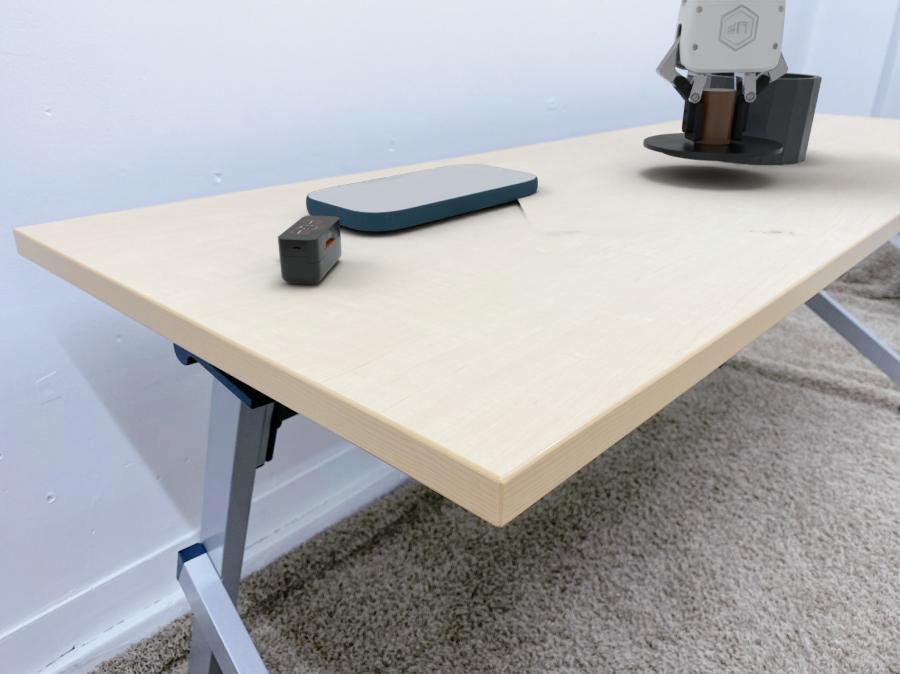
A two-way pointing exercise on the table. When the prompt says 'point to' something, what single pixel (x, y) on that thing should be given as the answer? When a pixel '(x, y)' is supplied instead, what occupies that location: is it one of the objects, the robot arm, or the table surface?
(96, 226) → the table surface
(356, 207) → the grey flat rounded slab
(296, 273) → the dark grey box
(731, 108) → the lid
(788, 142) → the pot
